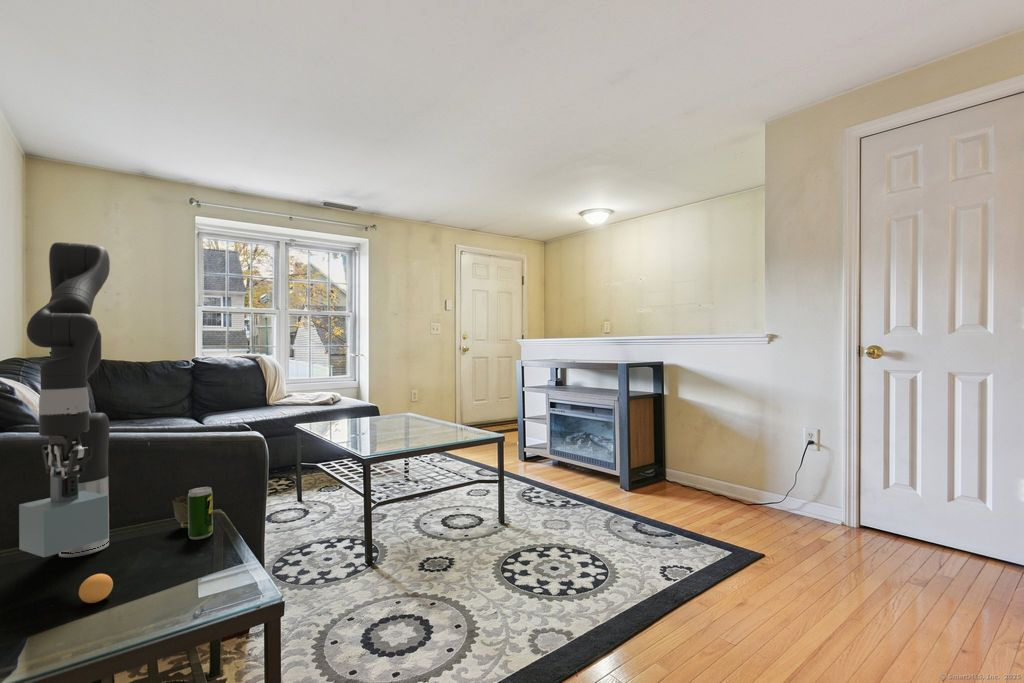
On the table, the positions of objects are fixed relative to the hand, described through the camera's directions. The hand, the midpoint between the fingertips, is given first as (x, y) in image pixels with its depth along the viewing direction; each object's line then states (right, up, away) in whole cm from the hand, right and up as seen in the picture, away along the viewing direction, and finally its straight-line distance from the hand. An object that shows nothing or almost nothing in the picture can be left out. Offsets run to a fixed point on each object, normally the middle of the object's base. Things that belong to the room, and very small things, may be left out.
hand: (65, 495), depth 98 cm
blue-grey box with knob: (0, -10, 0) cm, 10 cm away
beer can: (+10, -19, +27) cm, 35 cm away
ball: (+11, -16, -5) cm, 20 cm away
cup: (+2, -20, +34) cm, 40 cm away
